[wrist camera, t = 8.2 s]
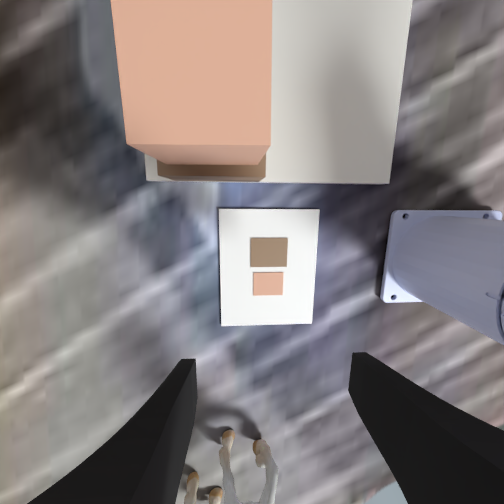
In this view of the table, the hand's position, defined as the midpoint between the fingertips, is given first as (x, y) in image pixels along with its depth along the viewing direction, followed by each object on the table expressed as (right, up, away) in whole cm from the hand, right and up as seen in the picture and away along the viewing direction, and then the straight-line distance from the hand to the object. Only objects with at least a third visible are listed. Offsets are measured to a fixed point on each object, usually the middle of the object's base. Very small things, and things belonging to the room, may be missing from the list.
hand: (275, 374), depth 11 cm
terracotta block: (-3, +13, +2) cm, 13 cm away
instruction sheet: (0, +4, +9) cm, 10 cm away
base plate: (0, +18, +6) cm, 19 cm away
